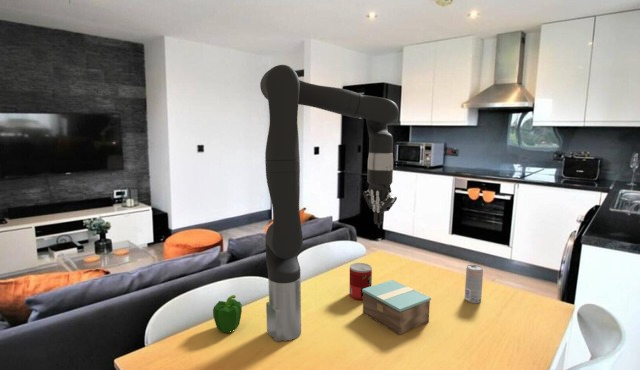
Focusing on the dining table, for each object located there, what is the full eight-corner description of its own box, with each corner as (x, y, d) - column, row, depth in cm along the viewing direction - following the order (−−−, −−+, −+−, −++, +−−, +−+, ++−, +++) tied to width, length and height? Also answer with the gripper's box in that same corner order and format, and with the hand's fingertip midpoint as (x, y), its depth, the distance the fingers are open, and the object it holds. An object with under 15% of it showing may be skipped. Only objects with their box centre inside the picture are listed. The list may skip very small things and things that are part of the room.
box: (398, 335, 107) (399, 312, 106) (362, 313, 120) (362, 292, 119) (428, 322, 114) (429, 300, 113) (391, 302, 127) (392, 283, 126)
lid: (400, 311, 105) (400, 308, 105) (362, 291, 119) (362, 288, 119) (430, 300, 113) (431, 297, 113) (392, 282, 126) (392, 279, 126)
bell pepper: (215, 339, 105) (214, 306, 104) (212, 325, 113) (211, 294, 111) (245, 332, 108) (244, 300, 107) (240, 319, 116) (239, 289, 114)
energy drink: (478, 296, 131) (480, 264, 129) (483, 304, 126) (485, 270, 124) (462, 296, 131) (464, 264, 130) (467, 303, 126) (469, 269, 124)
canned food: (364, 302, 127) (365, 272, 125) (345, 296, 131) (345, 267, 130) (375, 295, 133) (375, 265, 131) (356, 289, 138) (356, 261, 136)
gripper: (356, 166, 114) (355, 221, 117) (386, 170, 103) (384, 230, 106) (374, 165, 118) (373, 218, 121) (405, 169, 107) (402, 226, 110)
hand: (378, 223), depth 113 cm, fingers closed
